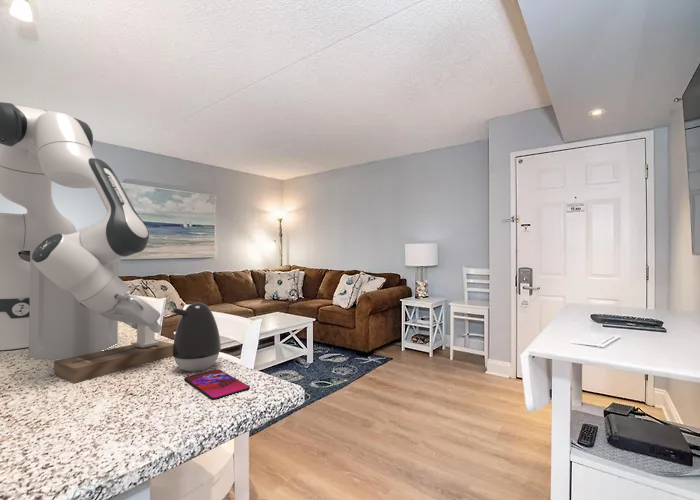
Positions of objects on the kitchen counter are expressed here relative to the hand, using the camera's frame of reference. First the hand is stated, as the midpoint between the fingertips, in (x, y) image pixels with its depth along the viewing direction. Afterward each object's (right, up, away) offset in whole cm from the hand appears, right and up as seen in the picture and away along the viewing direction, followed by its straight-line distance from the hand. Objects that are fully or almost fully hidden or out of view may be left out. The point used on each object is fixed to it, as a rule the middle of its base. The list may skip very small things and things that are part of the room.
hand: (148, 328), depth 87 cm
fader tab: (0, -4, -1) cm, 4 cm away
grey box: (-22, -8, +4) cm, 23 cm away
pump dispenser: (+16, -7, -9) cm, 20 cm away
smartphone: (+25, -7, -19) cm, 32 cm away
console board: (-3, -7, -6) cm, 10 cm away
